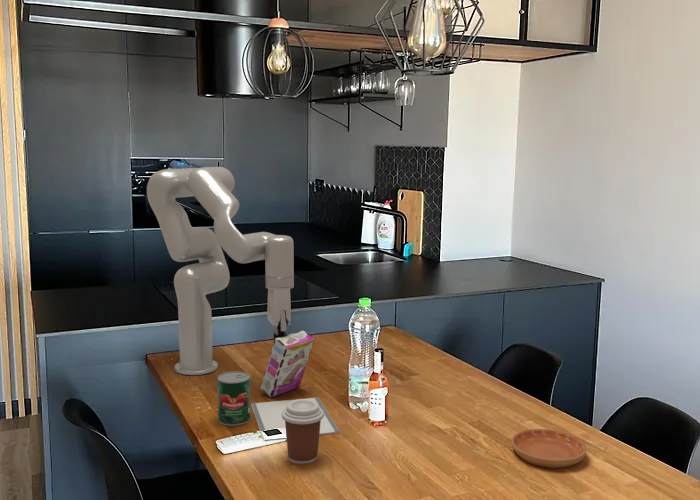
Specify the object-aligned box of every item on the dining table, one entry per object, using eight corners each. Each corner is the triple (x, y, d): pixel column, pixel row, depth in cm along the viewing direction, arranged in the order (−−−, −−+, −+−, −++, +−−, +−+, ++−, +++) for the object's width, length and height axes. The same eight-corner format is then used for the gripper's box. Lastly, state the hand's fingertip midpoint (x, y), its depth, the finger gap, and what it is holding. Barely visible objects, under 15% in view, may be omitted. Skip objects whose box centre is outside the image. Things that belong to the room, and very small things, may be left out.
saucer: (497, 456, 152) (498, 443, 151) (532, 434, 163) (533, 422, 163) (565, 480, 141) (566, 467, 141) (597, 455, 153) (598, 442, 152)
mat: (250, 405, 178) (250, 403, 178) (318, 398, 183) (318, 397, 183) (263, 441, 157) (263, 438, 157) (339, 432, 162) (339, 430, 162)
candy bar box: (271, 399, 182) (286, 347, 176) (259, 389, 185) (273, 337, 179) (300, 388, 191) (316, 338, 185) (288, 378, 193) (303, 329, 187)
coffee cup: (332, 457, 149) (332, 405, 147) (300, 471, 143) (300, 417, 141) (305, 444, 156) (305, 393, 154) (273, 456, 150) (272, 404, 148)
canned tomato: (225, 428, 164) (225, 384, 162) (213, 417, 170) (212, 374, 168) (256, 421, 168) (255, 378, 166) (242, 410, 174) (242, 369, 173)
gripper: (261, 277, 189) (262, 341, 192) (270, 288, 175) (271, 357, 178) (288, 275, 191) (288, 339, 194) (299, 286, 177) (299, 355, 180)
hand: (280, 347), depth 186 cm, fingers closed
